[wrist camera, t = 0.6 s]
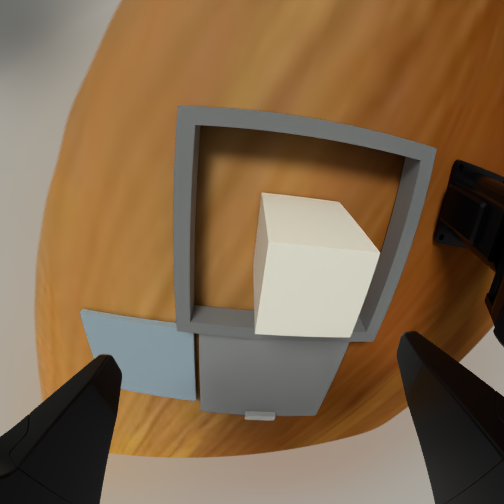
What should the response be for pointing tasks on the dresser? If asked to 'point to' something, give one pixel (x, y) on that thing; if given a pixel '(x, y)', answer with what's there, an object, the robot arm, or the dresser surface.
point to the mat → (145, 353)
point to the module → (309, 268)
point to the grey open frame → (242, 321)
